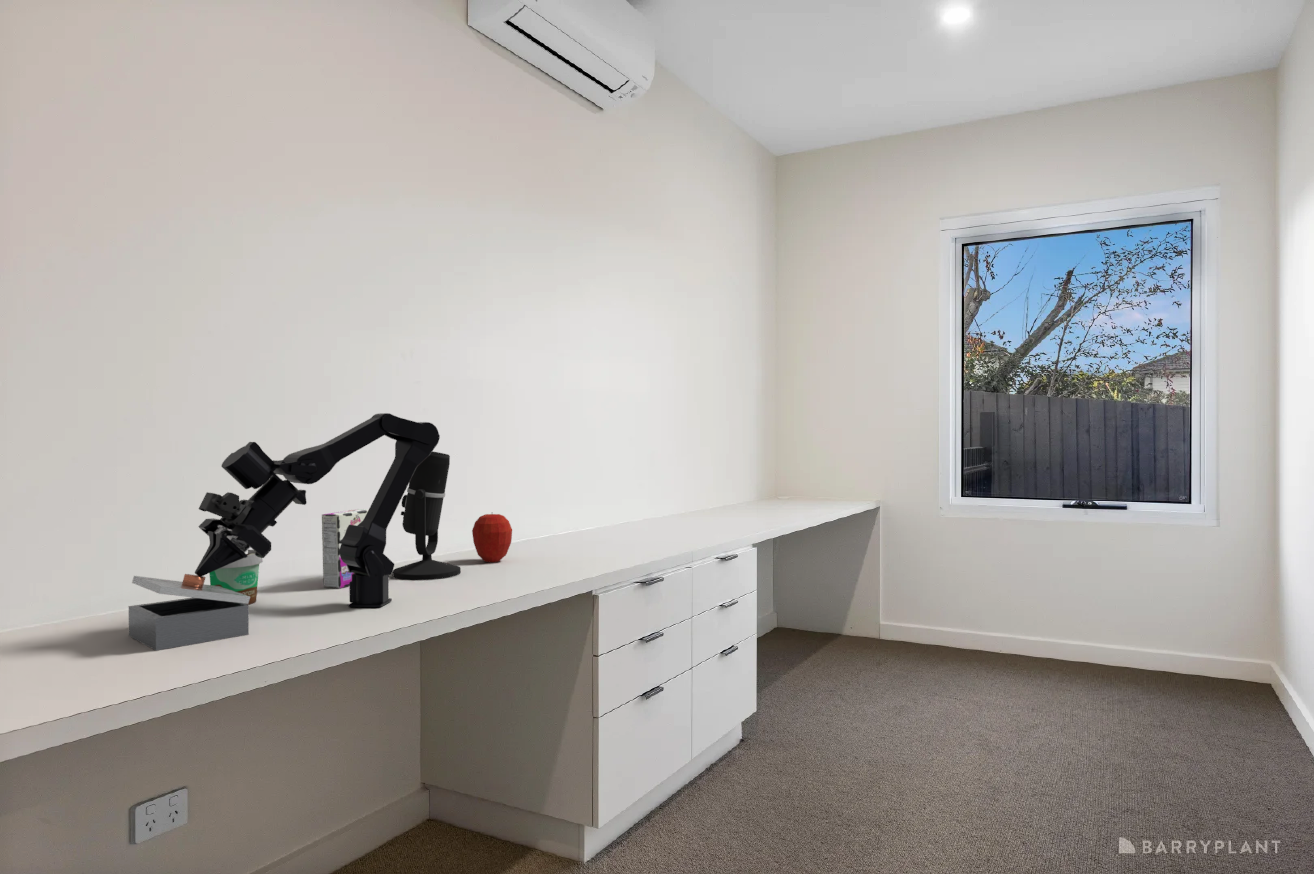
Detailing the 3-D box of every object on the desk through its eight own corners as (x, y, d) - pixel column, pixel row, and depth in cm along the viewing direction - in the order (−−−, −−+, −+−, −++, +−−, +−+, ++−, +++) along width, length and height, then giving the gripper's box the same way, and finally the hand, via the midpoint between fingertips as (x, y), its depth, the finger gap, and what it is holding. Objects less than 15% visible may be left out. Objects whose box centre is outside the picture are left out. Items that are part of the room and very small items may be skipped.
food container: (234, 610, 158) (234, 558, 158) (206, 609, 159) (206, 558, 159) (276, 598, 170) (276, 549, 170) (250, 597, 172) (249, 549, 171)
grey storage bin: (217, 621, 149) (217, 593, 149) (248, 634, 140) (248, 604, 140) (128, 635, 139) (128, 606, 139) (155, 650, 130) (155, 618, 130)
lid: (217, 592, 149) (221, 576, 150) (248, 603, 140) (253, 586, 140) (131, 582, 139) (137, 565, 140) (159, 593, 130) (164, 574, 130)
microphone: (405, 568, 207) (405, 449, 207) (467, 568, 206) (467, 449, 206) (382, 579, 191) (382, 450, 191) (450, 580, 191) (449, 450, 190)
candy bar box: (354, 578, 192) (354, 508, 192) (372, 580, 191) (372, 509, 191) (320, 587, 182) (320, 513, 182) (339, 588, 180) (339, 514, 180)
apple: (519, 559, 221) (519, 507, 221) (497, 565, 212) (497, 511, 211) (487, 557, 225) (487, 506, 225) (464, 562, 216) (464, 509, 216)
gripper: (211, 474, 151) (142, 539, 142) (253, 477, 138) (179, 549, 130) (255, 514, 156) (191, 579, 148) (299, 521, 144) (232, 593, 136)
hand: (197, 574), depth 140 cm, fingers closed, pressing on lid
